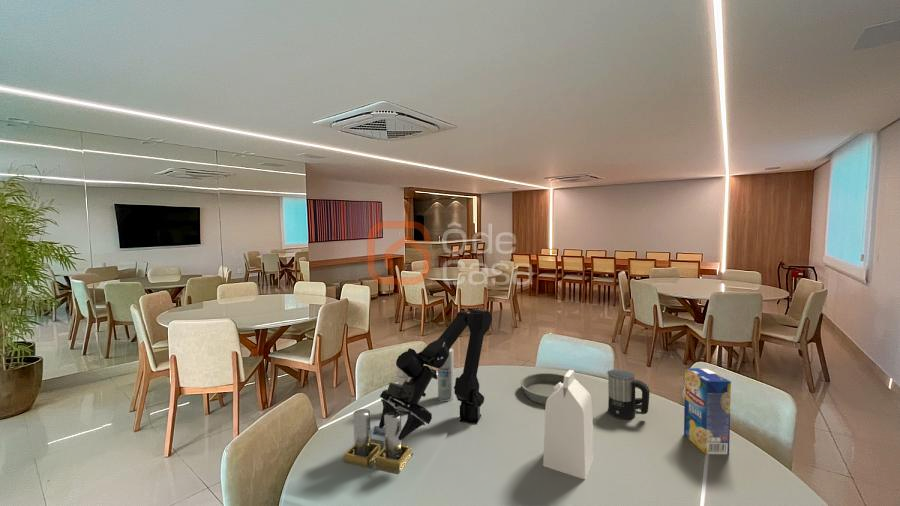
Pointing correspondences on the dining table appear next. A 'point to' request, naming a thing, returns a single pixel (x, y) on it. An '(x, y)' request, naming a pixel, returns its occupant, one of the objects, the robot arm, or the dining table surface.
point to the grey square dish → (377, 429)
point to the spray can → (446, 379)
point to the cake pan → (540, 385)
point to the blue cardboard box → (707, 410)
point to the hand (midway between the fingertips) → (389, 433)
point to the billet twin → (362, 432)
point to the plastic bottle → (401, 379)
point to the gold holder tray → (379, 459)
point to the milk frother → (625, 394)
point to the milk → (569, 428)
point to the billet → (393, 435)
